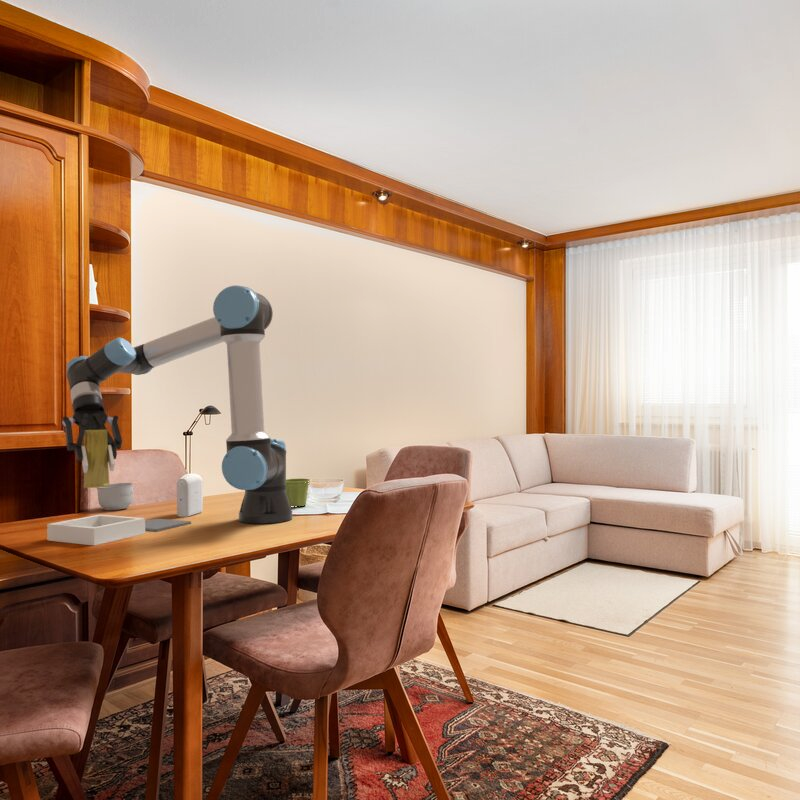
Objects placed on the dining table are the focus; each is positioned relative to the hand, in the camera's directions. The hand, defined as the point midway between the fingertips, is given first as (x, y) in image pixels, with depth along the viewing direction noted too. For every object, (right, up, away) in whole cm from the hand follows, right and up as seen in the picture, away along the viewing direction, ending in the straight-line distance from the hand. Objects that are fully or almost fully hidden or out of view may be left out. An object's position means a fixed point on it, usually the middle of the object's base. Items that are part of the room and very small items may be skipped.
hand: (99, 468), depth 169 cm
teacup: (-17, -18, +52) cm, 57 cm away
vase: (-2, -5, +3) cm, 6 cm away
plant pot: (+41, -18, +53) cm, 69 cm away
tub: (-2, -18, +3) cm, 18 cm away
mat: (+8, -18, +18) cm, 27 cm away
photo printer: (+11, -18, +38) cm, 43 cm away
